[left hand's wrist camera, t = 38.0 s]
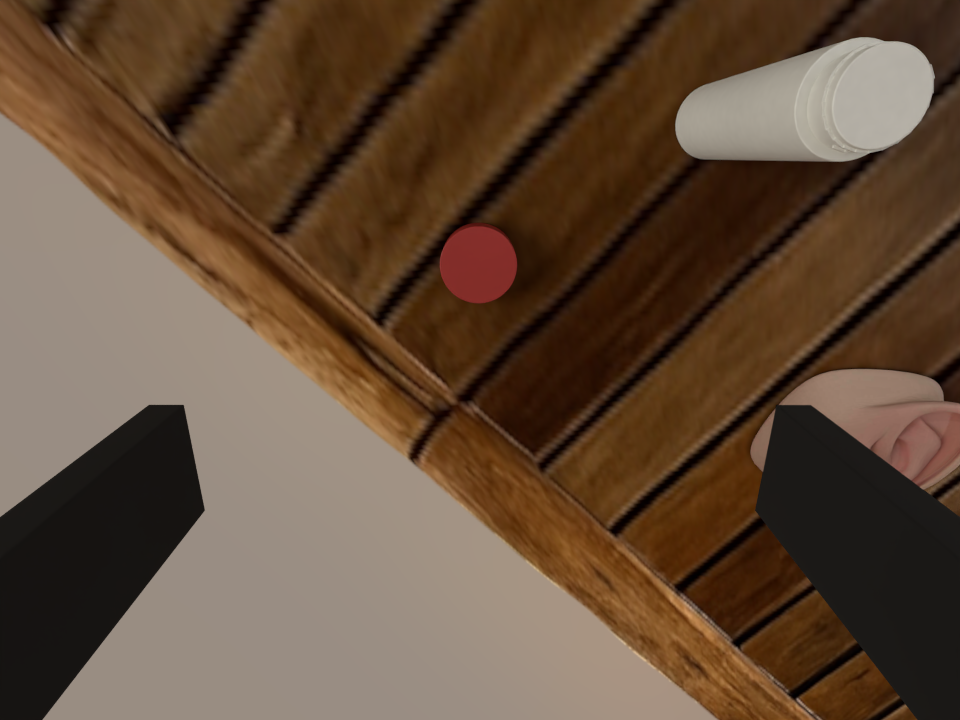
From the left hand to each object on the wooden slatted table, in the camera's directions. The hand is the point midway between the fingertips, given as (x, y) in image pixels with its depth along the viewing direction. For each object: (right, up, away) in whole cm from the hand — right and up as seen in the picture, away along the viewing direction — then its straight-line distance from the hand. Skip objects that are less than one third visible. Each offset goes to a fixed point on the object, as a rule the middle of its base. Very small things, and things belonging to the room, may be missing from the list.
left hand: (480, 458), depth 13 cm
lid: (0, +8, +24) cm, 25 cm away
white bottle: (+14, +17, +22) cm, 32 cm away
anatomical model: (+28, -3, +30) cm, 41 cm away
